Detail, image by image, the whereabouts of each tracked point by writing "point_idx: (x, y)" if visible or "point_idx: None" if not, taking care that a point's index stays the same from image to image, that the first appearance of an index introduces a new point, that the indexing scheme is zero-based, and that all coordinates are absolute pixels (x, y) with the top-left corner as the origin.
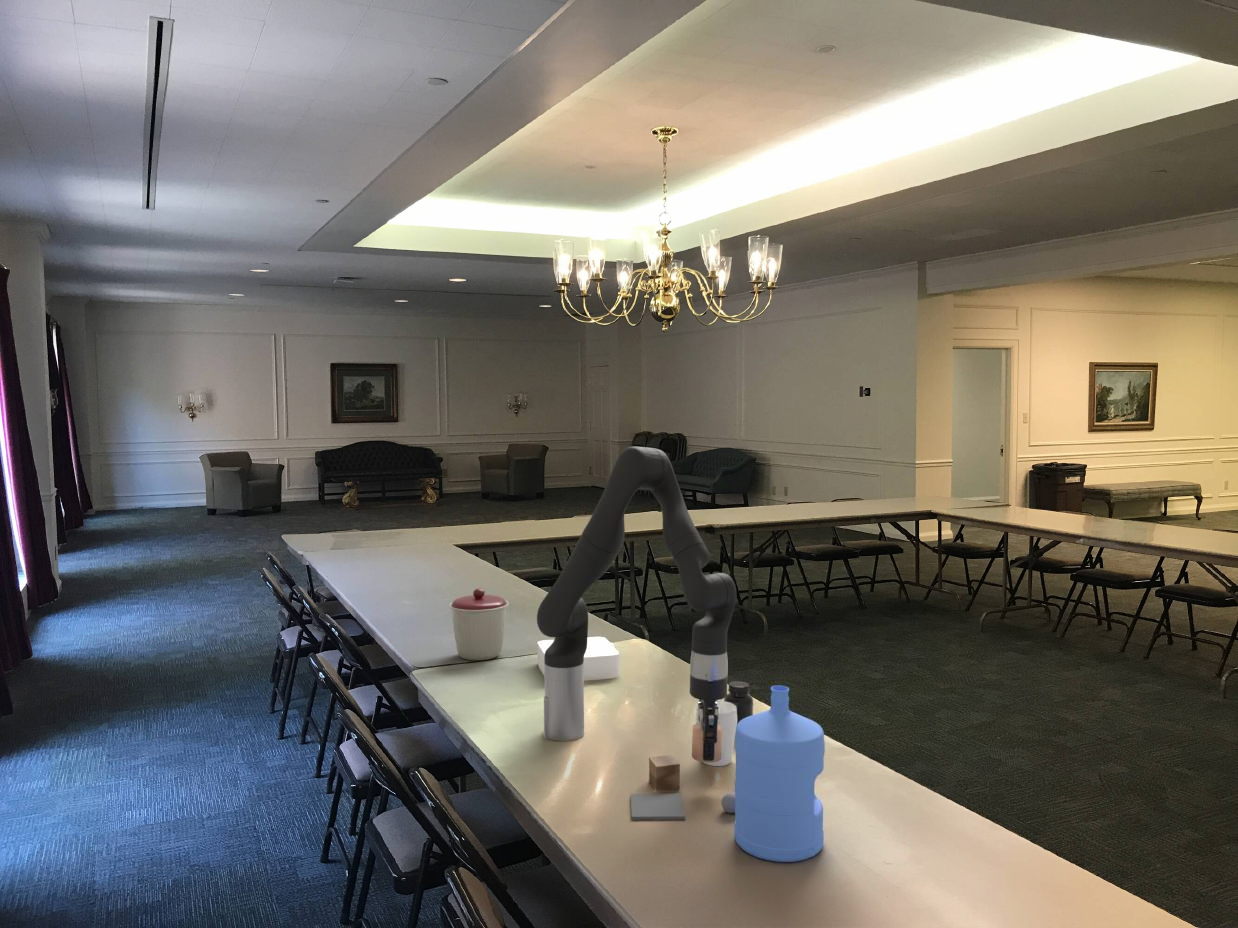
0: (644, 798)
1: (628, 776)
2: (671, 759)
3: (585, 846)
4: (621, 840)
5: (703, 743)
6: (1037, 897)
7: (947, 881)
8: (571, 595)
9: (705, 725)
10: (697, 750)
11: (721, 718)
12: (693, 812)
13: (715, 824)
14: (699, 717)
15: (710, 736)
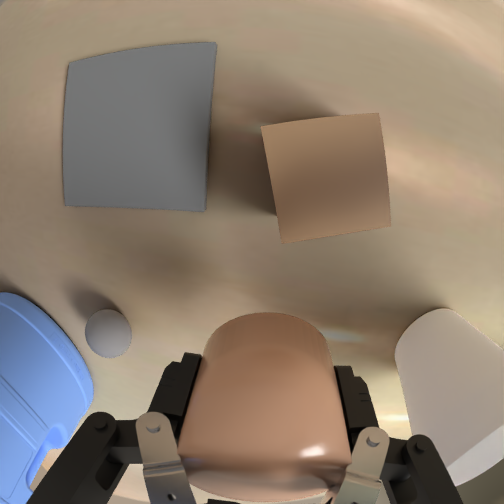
0: (171, 85)
1: (382, 62)
2: (341, 214)
3: (9, 12)
4: (8, 66)
5: (165, 407)
6: (46, 459)
7: None
8: None
9: (40, 485)
10: (213, 357)
11: None
12: (104, 231)
13: (59, 272)
14: (332, 499)
15: (124, 456)
